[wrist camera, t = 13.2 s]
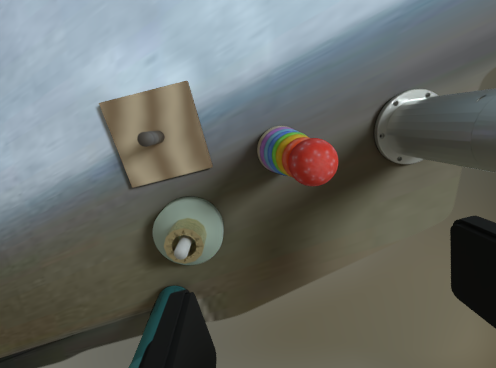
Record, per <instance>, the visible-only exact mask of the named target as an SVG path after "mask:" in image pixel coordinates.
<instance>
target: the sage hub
mask: <svg viewBox="0 0 496 368" xmlns="http://www.w3.org/2000/svg"><path fill="white" fill-rule="evenodd" d="M185 218H191V219H195V220H198V221H199V222H200V223H201V224H202V225H204V227H205V230H206V233H207V236H206V240H205V245H204V249H203V252H202V255H201V256H200V257H199V258H198V259H197V260H196V261H194V262H190V263H186V264H183V263H179V262H175V261H173V260H172V259H171V258H170V257H168V256H167V254H166V251H165V249H164V243H165V239H166V236H167V235H168V233H169V231H170V229H171V228H172V226H173V225H174V224H175V223H176V222H177V221H178V220H181V219H185ZM223 231H224V223H223V219H222V216H221V214H220V212H219V211H218V209H217V208H216V207H215V206H214V205H213V204H212V203H210V202H209V201H207V200H205V199H202V198H199V197H194V196H186V197H181V198H178V199H175V200H173V201H172V202H170V203H169V204H168V205H166V207H165V208H164V209H163V210H162V211H161V213H160V214H159V215H158V217H157V218H156V220H155V222H154V226H153V239H154V243H155V245H156V247H157V249H158V250H159V251H160V253H161V254H162V255H163V256H165V257H166V258H167V259H169V260H171V261H173V262H175V263H178V264H182V265H196V264H200V263H203V262H205V261H207V260H209V259H210V258H212V257H213V256H214V255H215V254H216V253H217V251H218V250H219V248H220V246H221V244H222V240H223ZM178 238H179V242H178V244H177V247H176V249H175V251H174V256H175V257H176V258H177V259H180V260H182V259H185V258H186V257H187V255H188V252H189V249H190V246H191V244H194V243H196V242H195V240H194V239H192V238H191V237H190V236H186V235H181V236H178Z"/></svg>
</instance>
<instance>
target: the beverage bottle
mask: <svg viewBox="0 0 496 368" xmlns="http://www.w3.org/2000/svg"><path fill="white" fill-rule="evenodd" d="M181 290H185V289H184V288H182V287H180V286H169V287H167V288H165V289H164V290H163V291H162V292H161V293H160V294H159V296H157V298H158V299H157V301H155V302H156V304H154V305H155V306H153V309H152V310H153V311H151V313H150V315H151V316H150V318H149V320H148V321H147V324H146V328H145V330H144V333H143V336H142V338H141V341H140V343H139V345H138V348H137V350H136V353H135V355H134V358H133V360H132V363H131V364H130V366H129V368H138V367H139V365H140V362H141V359H142V357H143V354H144V352H145V349H146V347H147V345H148V344H149V343H150V342H151V341H152V340H153V337H154V335H155V332H156V329H157V327H158V324H159V321H160V319H161V316H162V313H163V311H164V308H165V305H166V302H167V300H168V297H169V295H170V294H171V293H174V292H177V291H181Z"/></svg>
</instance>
